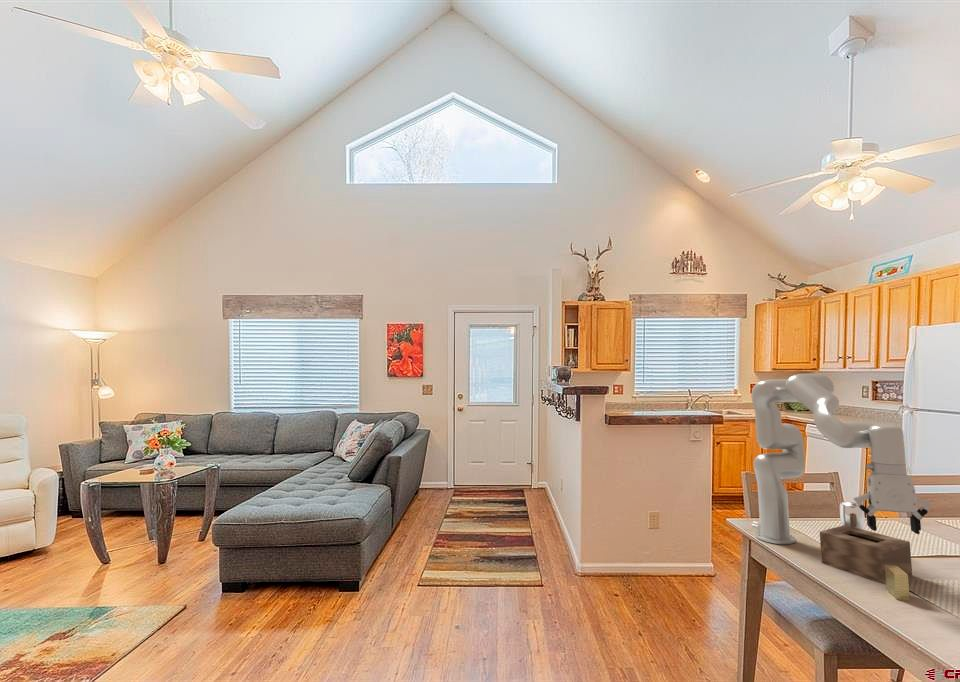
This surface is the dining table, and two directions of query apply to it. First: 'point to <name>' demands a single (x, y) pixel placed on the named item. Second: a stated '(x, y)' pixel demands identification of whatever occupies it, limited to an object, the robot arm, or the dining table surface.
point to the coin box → (864, 552)
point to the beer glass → (852, 515)
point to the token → (897, 582)
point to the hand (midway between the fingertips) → (893, 530)
